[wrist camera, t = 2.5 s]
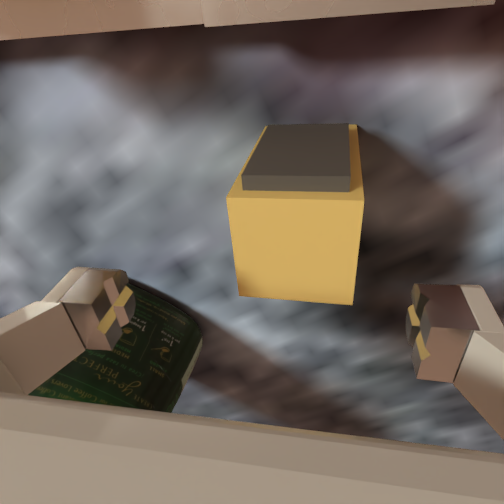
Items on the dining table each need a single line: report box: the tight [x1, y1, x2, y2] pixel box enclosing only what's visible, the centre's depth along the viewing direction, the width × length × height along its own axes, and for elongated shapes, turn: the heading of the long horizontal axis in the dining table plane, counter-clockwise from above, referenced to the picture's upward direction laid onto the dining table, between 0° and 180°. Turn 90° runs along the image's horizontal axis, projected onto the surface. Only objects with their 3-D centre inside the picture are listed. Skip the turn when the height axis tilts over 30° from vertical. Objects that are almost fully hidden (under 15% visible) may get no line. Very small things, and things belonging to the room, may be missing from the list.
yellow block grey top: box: [226, 123, 364, 305], centre depth 14 cm, size 4×4×7 cm
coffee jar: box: [28, 283, 203, 413], centre depth 19 cm, size 10×8×19 cm
